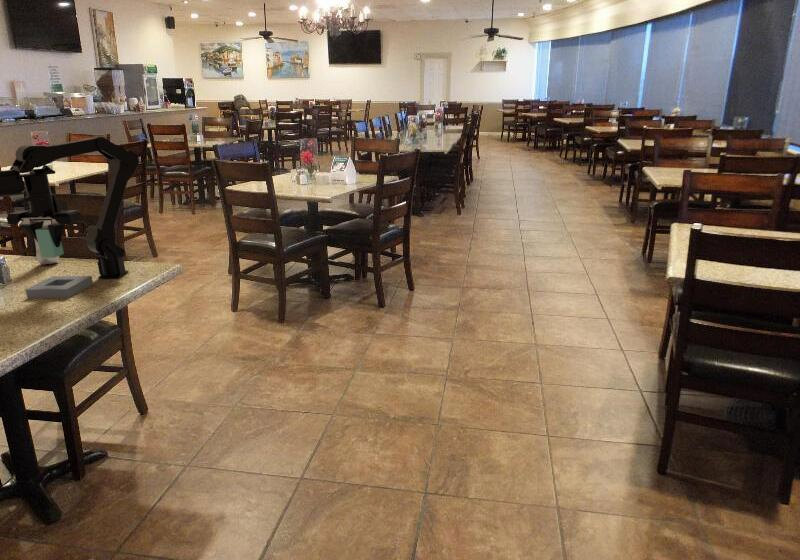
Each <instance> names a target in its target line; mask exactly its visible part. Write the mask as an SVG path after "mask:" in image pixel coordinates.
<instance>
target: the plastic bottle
mask: <svg viewBox="0 0 800 560" xmlns="http://www.w3.org/2000/svg"><path fill="white" fill-rule="evenodd" d="M29 211H31V210H30V209H29ZM39 221H44V223H43V226H47V225H50V224H52V220H39ZM43 226H42V227H43ZM33 240H34V243H35V250H36V251H35V252H36V253H35V254H36V255H35V256H36V261H37V263H38V264H40V265H46V264H49V265H52V264H55V263H58V262H59V261H60V256H57V257H55V258H41V253H40V249H39V245H38V242H37V241H36V240H35V238H34V237H33Z"/></svg>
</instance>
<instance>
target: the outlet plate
mask: <svg viewBox="0 0 800 560" xmlns="http://www.w3.org/2000/svg"><path fill="white" fill-rule="evenodd" d="M93 281H94V280H93V276H92V275H62V276H61V275H58V276H56V275H55V276H50V277H48V278H46V279H44V280H41V281H40V282H38V283H36V284H34V285H32V286H30V287H28V288H26V289H25V294H26V297H27V299H48V298H49V299H59V298H60V299H61V298H63V299H64V298H65V299H66V298H67V299H70V297H73V296H75V295H76V294H78V293H80V292H82V291H83V290H85V289H86V288H89V287H90V286H92V285H94V282H93Z"/></svg>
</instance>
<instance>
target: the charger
mask: <svg viewBox="0 0 800 560" xmlns="http://www.w3.org/2000/svg"><path fill="white" fill-rule="evenodd" d="M35 231H36V236H37V240H38V245H39V249H40V253H41V258H55V257H57V256H59V257H60V256H62V255H64V254H65V251H64V248H63V244H62V243H63V242H62V241H61V243H60V247H56V246H55V244H54V241H53V239H52V236H51V233H50V231H49V228H48V225H47V226H43V227H42V228H39V229H36V230H35Z"/></svg>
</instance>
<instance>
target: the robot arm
mask: <svg viewBox="0 0 800 560" xmlns="http://www.w3.org/2000/svg"><path fill="white" fill-rule="evenodd" d="M95 152H98V153H99V154H100V155H101V156H103V157H104V158H105V159H107V160H109V172H110V180H109V182H108V183H109V184H108V185H107V186H108V187H107V189H106V192H105V196H104V200H103V204H102V207H101V211H100V213H99V216H98V220H97V223H96V224H95V225H94V226H91V225H89V226H88V227H87V234H86V235H85V237H84V239H85V240H86V242H85V243H86V246H87V248H88V249H89V251H91V252H94V254H95V255H96V256H97V262H96V263H97V269H98V273H99V275H98V276H97V277H98V279H118V278H121V277H123V276H125V275H126V274H128V273H129V270H126V265H125V261H124V256H125V249H124V248H122V247H121V246H119V245H118V244H116V243H117V234H116V223H117V221H118V216H119V212H120V209H121V207H122V206H121V205H122V202H123V199H124V195H125V192H126V188H127V185H128V182H129V181H130V179H131V178H132V177H133V176H134V175H135V173H136V171H137V169H138V167H139V164H140V158H139V157H138V154H137V153H135V152H134V151H131V150H126V148H123V147H122V146H119V145H118V144H115V143H114V142H112V141H110V140H109V139H107V138H106V137H104V136H93V137H89V138H83V139H80V140H79V139H78V140H73V141H68V142H67V141H66V142H62V143H56V144H25V145H21V146H18V148H17V149H16V151H15V159H14V161H13V163H11V164H12V165H11V166H10V168H9V169H6V170H0V198H4V197H10V196H17V195H19V196H20V195H21V194H22V192H24V191H26V196H25V197H24V198H23V200H24V202H28V205H29V210H17V211H14V212H10V213H7V216H6V221H7V222H6V223H7V224H8V225H19V223H20V222H21V224H20V227H21V228H24V229H25V230H26V232H27V233H29V234H30V235H31V237H33V239H34V238H35V240H36V241H37V242H38V240H37V236H36V231H35V230H36V229H39V228H42V226H43V223H44V221H39V220H51V224H50V225H48V228H49V231H50V233H51V236H52V239H53V241H54V244H55V246H56V247H60V243H61V242H62V237H63V231H64V229H65V227H66V225H68V224H72V223H75V222H79V221H82V220H83V217H82V213H81V212H80V211H79V209H69V205H70V202H69V201H67V200H62V199H58V198H57V196H56V194H55V193H52V190H51V186H50V181H49V177H48V175H55V174H56V170H53V169H52V168H50V167H49V165H50V164H51V163H53V162H55V161H57V160H60V159H63V158H70V157H74V156H79V155H84V154H90V153H95ZM48 164H49V165H48ZM30 210H31V211H30ZM35 240H34V241H35Z"/></svg>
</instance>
